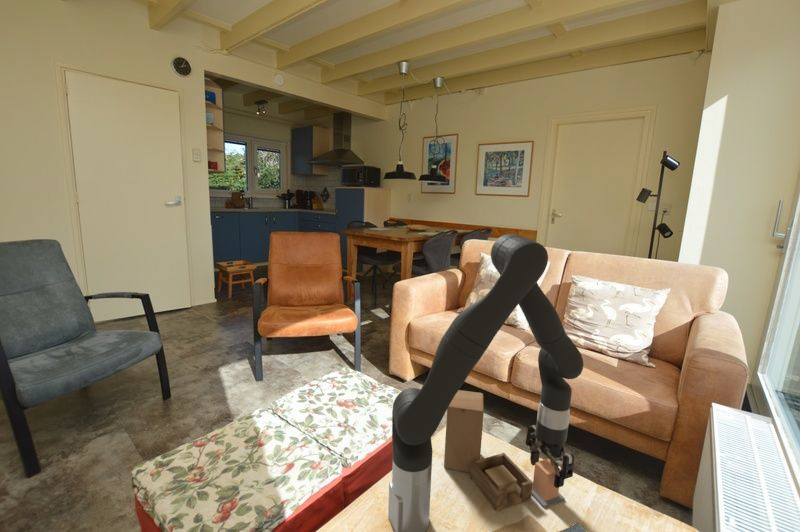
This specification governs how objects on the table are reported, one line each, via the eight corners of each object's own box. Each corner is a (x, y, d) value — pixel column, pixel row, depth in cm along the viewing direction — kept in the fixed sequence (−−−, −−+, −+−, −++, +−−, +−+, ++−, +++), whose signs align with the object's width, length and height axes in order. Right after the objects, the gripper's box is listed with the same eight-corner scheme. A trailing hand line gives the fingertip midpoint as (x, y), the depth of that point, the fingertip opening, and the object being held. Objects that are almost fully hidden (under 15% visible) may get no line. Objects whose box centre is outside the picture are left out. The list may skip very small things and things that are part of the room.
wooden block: (478, 474, 107) (483, 411, 103) (443, 468, 109) (447, 406, 105) (478, 451, 117) (483, 392, 113) (446, 446, 119) (449, 388, 115)
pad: (543, 507, 97) (543, 505, 96) (525, 488, 103) (525, 486, 103) (564, 500, 99) (564, 498, 99) (545, 481, 105) (545, 479, 105)
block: (557, 496, 100) (561, 470, 98) (544, 501, 98) (547, 474, 96) (545, 484, 104) (548, 458, 102) (532, 488, 102) (535, 462, 100)
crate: (496, 510, 95) (497, 493, 94) (470, 477, 106) (471, 461, 105) (530, 498, 99) (532, 482, 98) (502, 467, 110) (504, 452, 109)
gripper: (586, 433, 92) (577, 490, 95) (544, 402, 105) (537, 454, 108) (562, 439, 89) (554, 499, 92) (522, 407, 102) (516, 460, 105)
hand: (545, 474), depth 100 cm, fingers open, 8 cm apart
